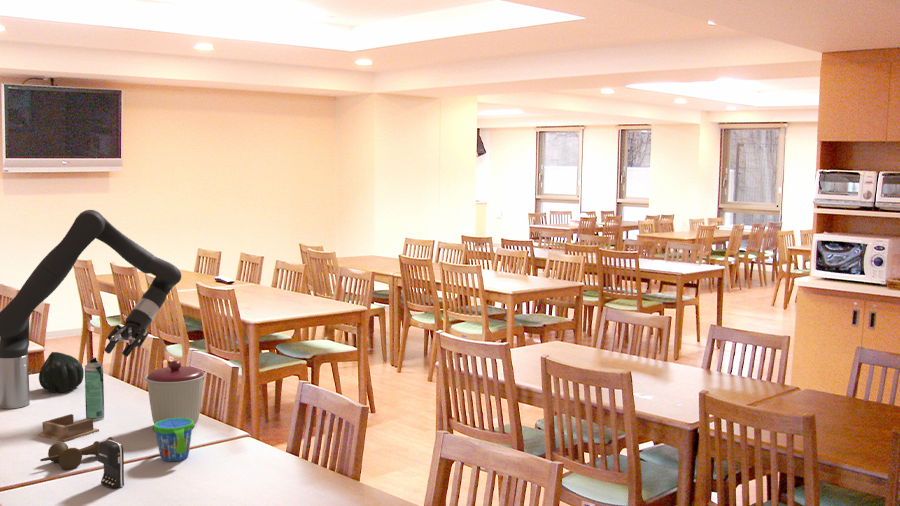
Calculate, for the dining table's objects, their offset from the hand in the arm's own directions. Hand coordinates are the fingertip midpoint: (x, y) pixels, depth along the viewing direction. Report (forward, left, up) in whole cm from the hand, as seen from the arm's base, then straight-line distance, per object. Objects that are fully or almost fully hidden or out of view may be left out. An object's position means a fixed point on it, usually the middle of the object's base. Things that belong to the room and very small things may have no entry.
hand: (115, 353), depth 272 cm
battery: (+52, -45, -20) cm, 71 cm away
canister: (+28, -1, -20) cm, 35 cm away
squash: (-40, +8, -20) cm, 45 cm away
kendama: (+30, -37, -20) cm, 52 cm away
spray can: (0, -9, -20) cm, 22 cm away
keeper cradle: (+6, -23, -20) cm, 31 cm away
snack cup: (+50, -22, -20) cm, 58 cm away
